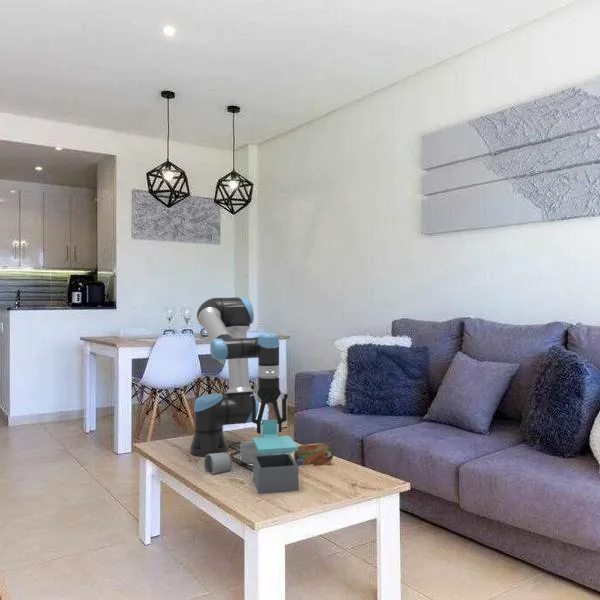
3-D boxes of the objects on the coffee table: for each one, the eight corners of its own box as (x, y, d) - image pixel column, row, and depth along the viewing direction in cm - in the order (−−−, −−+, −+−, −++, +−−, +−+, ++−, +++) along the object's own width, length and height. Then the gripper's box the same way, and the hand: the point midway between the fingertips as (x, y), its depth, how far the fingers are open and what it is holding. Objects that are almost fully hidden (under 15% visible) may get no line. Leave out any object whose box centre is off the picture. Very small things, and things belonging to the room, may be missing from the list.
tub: (253, 481, 190) (253, 455, 190) (290, 478, 193) (289, 453, 193) (258, 496, 176) (258, 468, 176) (298, 493, 178) (298, 466, 178)
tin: (295, 469, 205) (295, 446, 205) (293, 466, 208) (292, 444, 208) (333, 465, 209) (333, 443, 209) (330, 463, 212) (330, 441, 212)
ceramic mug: (233, 473, 200) (233, 452, 200) (213, 478, 195) (213, 456, 195) (219, 467, 208) (219, 447, 208) (199, 471, 203) (199, 450, 203)
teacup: (239, 468, 205) (239, 447, 205) (241, 460, 216) (241, 440, 216) (276, 468, 206) (276, 446, 206) (276, 459, 217) (276, 439, 217)
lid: (250, 440, 196) (250, 420, 196) (286, 437, 199) (286, 418, 199) (258, 456, 176) (258, 434, 176) (298, 453, 179) (298, 432, 178)
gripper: (244, 379, 191) (245, 446, 191) (295, 377, 195) (296, 442, 195) (242, 376, 198) (243, 440, 198) (291, 374, 202) (292, 437, 202)
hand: (269, 441), depth 197 cm, fingers closed on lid, 5 cm apart
